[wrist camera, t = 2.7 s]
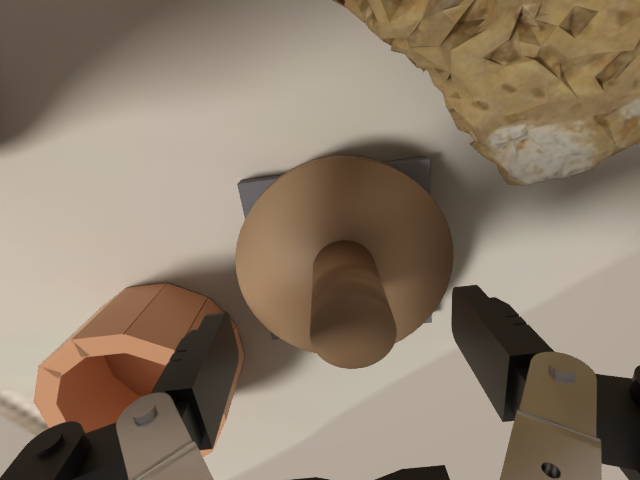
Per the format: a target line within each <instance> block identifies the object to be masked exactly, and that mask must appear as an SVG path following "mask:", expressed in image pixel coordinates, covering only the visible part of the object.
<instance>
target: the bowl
mask: <svg viewBox="0 0 640 480" xmlns="http://www.w3.org/2000/svg"><path fill="white" fill-rule="evenodd" d="M215 313H224V312H223V311H222V310H221V309H220V308H219V307H218V306H217V305H215V304H214V303H213V302H212V301H211V300H210V299H209V298H207V297H206V296H203V295H200V294H197V293H194V292H191V291H189V290H186V289H183V288H180V287H177V286H174V285H171V284H168V283H167V284H166V283H163V284H154V285H146V286H137V287H129V288H125V289H124V290H123V291H121V292H120V293H119V294H118V295H116V296H115V297H114V298H113V299H111V300H110V301H109V302H108V303H106V304H105V305H104V306H103V307H101V308H100V309H99V310H98V311H97V312H96V313H95V314H93V315H92V316H91V317H90V318H89V319H88V320H87V321H86V322H85V323H84V324H83V325H82V326H81V327H80V328H78V329H77V330H76V331H75V332H74V333H73V334H72V335H71V336H70V337H69V338H68V339H67V340H66V341H65V342H63V343H62V344H61V345H60V346H59V347H58V348H57V349H56V350H55V351H54V352H53V353H52V354H51V355H50V356H48V357H47V358H46V359H45V360H44V361H43V362H42V363H41V364H40V365H39V367H38V375H37V382H36V389H35V396H34V401H35V402H34V403H35V405H36V406H37V408H38V410H39V411H40V413H41V415H42V417H43V418H44V420H45V422H46V423H47V425H48V427H49V428H51V427H53V426H55V425H57V424H60V423H64V422H69V421H74V422H78V423H80V424H81V425H82V427H83V429H84V431H85V433H88V432H90V431H93V430H96V429H99V428H102V427H105V426H107V425H110V424H113V423H116V422H117V420H118V418H119V416H120V414H121V413H122V412H123V411H124V410H125V409H126V407H128V406H129V405H130V404H131V403H133V402H134V401H135V400H137V399H139V398H141V397H143V396H145V395H148V394H150V393H151V391H152V389H153V388H154V386H155V384H156V382H157V381H158V379H159V377H160V375H161V374H162V372H163V370H164V368H165V367H166V365H167V363H168V362H169V360H170V358H171V356H172V354H173V353H174V351H175V349H176V347H177V346H178V344H179V342H180V340H181V339H182V338H184V337H185V336H186V335H187V334H188V333H189V332H190V331H191V330H198V328H199V326H200V324H201V322H202V320H203V318H204V316H205V315H207V314H215ZM231 322H232V326H233V330H234V334H235V338H236V342H237V345H238V351H239V361H238V366H237V370H236V373H235V376H234V380H233V383H232V386H231V390H230V393H229V397H228V400H227V403H226V407H225V410H224V413H223V417H222V420H221V423H220V427H219V430H218V434H217V437H216V440H215V444H214V447H215V445H216V442H217V440H218V438H219V435H220V433H221V431H222V428H223V426H224V424H225V421H226V418H227V415H228V412H229V408H230V405H231V401H232V398H233V395H234V391H235V388H236V385H237V381H238V378H239V375H240V371H241V368H242V364H243V361H244V358H245V356H244V352H243V348H242V344H241V341H240V337H239V333H238V329H237V325H236V324H235V323H234V322H233V321H232V320H231ZM214 447H213V449H214ZM213 449H209V450H199V451H200V453H201V455H202V457H204V456H206V455H207V454H209V453H211V452H212V451H213Z"/></svg>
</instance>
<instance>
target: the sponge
mask: <svg viewBox="0 0 640 480" xmlns="http://www.w3.org/2000/svg"><path fill="white" fill-rule="evenodd" d="M333 1H335V2H337V3H339V4H340V5H342V6H344V7H346V8H348V9H349V10H350V11H351V12H352V13H353V14H354V15H356V16H357V17H358V18H359V19H360V20H361V21H363V22H364V23H366V25H367V26H368V28H369V29H370V30H371V31H372V32H373V33H375V34H376V35H377V36H378V37H379V38H380V39H381V40H382V41H384V42H386V43H388V44H389V45H391V51H395V52H399V53H402V54H405V55H406V56H407V57H408V59H409V60H410V61H411V62H412V63H413V64H414V65H415V66H416V67H417V68H421V69H422V70H423V72H424V71H425V70H427V71H428V72H429V75H430V77H431V79H432V82H433V84H434V85H435V86H436V87H437V88H438V89H439V90H440V91H441V92H442V93H443V95H444V99H445V103H446V107H447V109H448V111H449V112H450V114H451V116H452V118H453V120H454V122H455V124H456V126H457V128H458V129H459V130H460V131H464V132H466V133H469V134H470V135H471V136H472V137H473V139H474V140H475V141H473V142H472V143H470V145H471V146H472V147H473V148H474V149H476V150H477V151H478V152H479V153H480V154H481V155H482V156H484V157H485V158H487V159H489V160H490V161H492V162H493V163H495V164H497V167H498V169H499V172H500V174H501V175H502V177H503V178H504V179H505V181H506V182H507V184H508V185H527V184H532V183H537V182H541V181H545V180H549V179H553V178H557V177H565V178H566V177H569V176H572V175H575V174H578V173H581V172H585V171H588V170H591V169H592V168H593V167H595V166H596V165H597V164H599V163H600V162H601V161H603V160H604V159H606V158H608V157H610V156H612V155H614V154H616V153H618V152H620V151H622V150H624V149H625V148H627V147H630V146H632V145H634V144H635V143H637V142H639V141H640V0H333Z"/></svg>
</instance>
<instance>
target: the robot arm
mask: <svg viewBox="0 0 640 480" xmlns="http://www.w3.org/2000/svg"><path fill="white" fill-rule="evenodd" d="M452 332H453V336H454V339H455V341H456V343H457V345H458V347H459V349H460V350H461V352H462V354H463V355H464V357H465V359H466V360H467V362H468V364H469V365H470V367H471V369H472V371H473V372H474V374H475V376H476V377H477V379H478V381H479V382H480V384H481V386H482V387H483V389H484V391H485V393H486V394H487V396H488V398H489V399H490V401H491V403H492V405H493V406H494V408H495V410H496V411H497V413H498V415H499V416H500V418H501V420H502V421H503V422H506V421H514V424H513V429H512V432H511V437H510V441H509V445H508V449H507V453H506V457H505V461H504V465H503V469H502V473H501V477H500V480H601V463H602V464H607V465H612V466H617V467H620V469H621V470H622V471H623V472H624V474H625V475H626V476H627V478H628V479H629V480H640V366H638V367H637V368H636V369H635V372H634V375H633V378H632V379H631V378H623V377H615V376H606V375H600V374H595V373H594V372H593V370H592V369H591V368H590V367H589V366H588V365H586V364H585V363H584V362H582V361H581V360H579V359H577V358H575V357H572V356H570V355H567V354H563V353H558V352H554V351H553V350H552V349H551V348H550V347H549V346H548V345H547V344H546V342H545V341H543V339H542V338H541V337H540V336H539V335H538V334H537V333H536V332H535V331H534V330H533V329H532V328H531V327H530V326H529V325H527V324H526V322H525V321H524V320H523V319H522V318H521V317H519V314H518V313H517V312H516V311H515V310H514V309H513V308H512V307H511V306H510V305H509V304H507V303H505V302H503V301H501V300H499V299H497V298H496V297H493V298H489V297H488V296H487V295H486V294H485V293H484V292H483V291H482V290H481V288H480V287H479V286H477V285H471V286H462V287H454V289H453V292H452ZM238 361H239V351H238V345H237V342H236V338H235V334H234V330H233V326H232V322H231V318H230V316H229V314H228V313H227V312H224V313H215V314H207V315H205V316H204V318H203V320H202V322H201V324H200V326H199V328H198V330H191V331H190V332H189V333H188V334H187V335H186V336H185V337H184V338H182V339H181V340H180V342H179V344H178V346H177V347H176V349H175V351H174V353H173V354H172V356H171V358H170V360H169V362H168V363H167V365H166V367H165V368H164V370H163V372H162V374H161V375H160V377H159V379H158V381H157V382H156V384H155V386H154V388H153V389H152V391H151V393H150V394H148V395H145V396H143V397H141V398H139V399H137V400H135V401H134V402H133V403H131V404H130V405H129V406H128V407H126V409H125V410H124V411H123V412H122V413H121V414H120V416H119V418H118V420H117V422H116V423H113V424H110V425H107V426H105V427H102V428H99V429H96V430H93V431H90V432H88V433H85V431H84V429H83V427H82V425H81V424H80V423H78V422H74V421H69V422H64V423H60V424H57V425H55V426H53V427H51V428H49V429H47V430H45V431H44V432H42V433H40V434H39V435H38V436H36V437H35V438H34V439H33V440H31V441H30V443H28V444H27V445H26V446H25V447H24V449H23V450H22V451H21V452H20V453H19V455H18V456H17V457H16V459H15V460H14V461H13V462H12V464H11V465H10V466H9V467H8V469H7V470H6V471H5V472H4V474H3V475H2V476H1V478H0V480H214V479H213V477H212V475H211V473H210V471H209V469H208V467H207V465H206V463H205V461H204V459H203V457H202V455H201V453H200V451H199V450H209V449H213V447H214V444H215V440H216V437H217V434H218V430H219V427H220V423H221V420H222V417H223V413H224V410H225V407H226V403H227V400H228V397H229V393H230V390H231V386H232V383H233V380H234V376H235V373H236V370H237V366H238ZM293 480H328V479H323V478H317V477H315V478H304V479H293ZM375 480H450V479H449V476H448V473H447V471H446V468H445V465H441V466H431V467H420V468H409V469H401V470H399V471H396V472H394V473H391V474H389V475H386V476H383V477H381V478H378V479H375Z"/></svg>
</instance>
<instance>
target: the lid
mask: <svg viewBox="0 0 640 480" xmlns="http://www.w3.org/2000/svg"><path fill="white" fill-rule="evenodd" d="M452 264H453V245H452V239H451V234H450V230H449V227H448V225H447V222H446V219H445V217H444V215H443V213H442V212H441V210H440V208H439V206H438V205H437V204H436V202H435V201H434V200H433V198H432V197H431V196H430V194H428V193H427V192H426V191H425V190H424V189H423V188H422V187H421V186H420V185H419V184H418V183H417V182H415V181H414V180H413V179H412V178H410V177H409V176H408V175H406V174H405V173H403V172H402V171H400V170H398V169H397V168H395V167H393V166H391V165H389V164H386V163H384V162H381V161H378V160H375V159H371V158H366V157H361V156H348V155H343V156H330V157H325V158H320V159H315V160H312V161H309V162H306V163H304V164H301V165H299V166H297V167H295V168H293V169H291V170H289V171H288V172H286V173H285V174H283V175H282V176H280V177H279V178H277V179H276V180H275V181H274V182H273V183H272V184H271V185H270V186H269V187H267V188H266V190H265V191H264V192H263V193H262V194H261V196H260V197H259V198H258V199H257V201H256V202H255V204H254V206H253V207H252V209H251V210H250V212H249V214H248V215H247V217H246V219H245V221H244V223H243V226H242V228H241V230H240V234H239V238H238V241H237V248H236V273H237V279H238V283H239V286H240V289H241V292H242V295H243V297H244V299H245V301H246V303H247V305H248V306H249V308H250V309H251V311H252V312H253V314H254V315H255V316H256V318H257V319H258V320H259V321H260V322H261V323H262V324H263V325H264V326H265V327H266V328H267V329H268V330H269V331H270V332H272V333H273V334H275V335H276V336H277V337H279V338H280V339H282V340H284V341H285V342H287V343H289V344H291V345H293V346H296V347H298V348H301V349H303V350H306V351H310V352H314V353H317V354H318V355H319V356H320V357H321V358H322V359H323V360H325V361H326V362H328V363H330V364H332V365H334V366H337V367H341V368H347V369H357V368H363V367H367V366H370V365H372V364H375V363H376V362H378V361H380V360H381V359H383V358H384V357H385V356H386V355H387V354H388V353H389V352H390V350H391V349H392V347H393V345H394V343H396V342H398V341H400V340H402V339H404V338H405V337H407V336H408V335H410V334H411V333H413V332H414V331H415V330H416V329H417V328H419V327H420V326H421V325H422V324H423V323H424V322H425V321H426V320H427V319H428V318H429V317H430V316H431V314H432V313H433V312H434V310H435V309H436V307H437V306H438V305H439V303H440V301H441V299H442V297H443V296H444V294H445V291H446V289H447V286H448V283H449V280H450V276H451V272H452Z"/></svg>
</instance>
